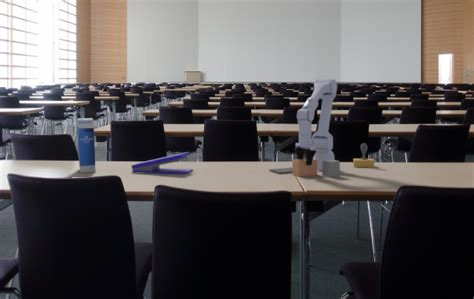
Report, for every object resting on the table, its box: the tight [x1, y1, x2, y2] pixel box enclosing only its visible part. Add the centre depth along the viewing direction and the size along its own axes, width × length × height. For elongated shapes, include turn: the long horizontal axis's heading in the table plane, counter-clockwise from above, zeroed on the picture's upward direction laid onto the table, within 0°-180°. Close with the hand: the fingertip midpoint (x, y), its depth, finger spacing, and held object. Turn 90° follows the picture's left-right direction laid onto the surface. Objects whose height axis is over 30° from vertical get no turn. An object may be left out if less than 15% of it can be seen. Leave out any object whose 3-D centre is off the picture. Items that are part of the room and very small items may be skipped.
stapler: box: [131, 151, 194, 175], centre depth 258 cm, size 12×28×10 cm, turn 75°
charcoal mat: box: [269, 167, 292, 175], centre depth 255 cm, size 12×10×1 cm
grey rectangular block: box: [321, 159, 341, 178], centre depth 241 cm, size 6×6×7 cm
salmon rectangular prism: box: [291, 158, 318, 177], centre depth 245 cm, size 10×6×7 cm, turn 112°
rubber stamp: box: [352, 143, 375, 168], centre depth 268 cm, size 10×6×12 cm, turn 79°
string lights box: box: [76, 117, 97, 174], centre depth 262 cm, size 13×8×26 cm, turn 18°
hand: (304, 164), depth 245 cm, fingers open, 7 cm apart
